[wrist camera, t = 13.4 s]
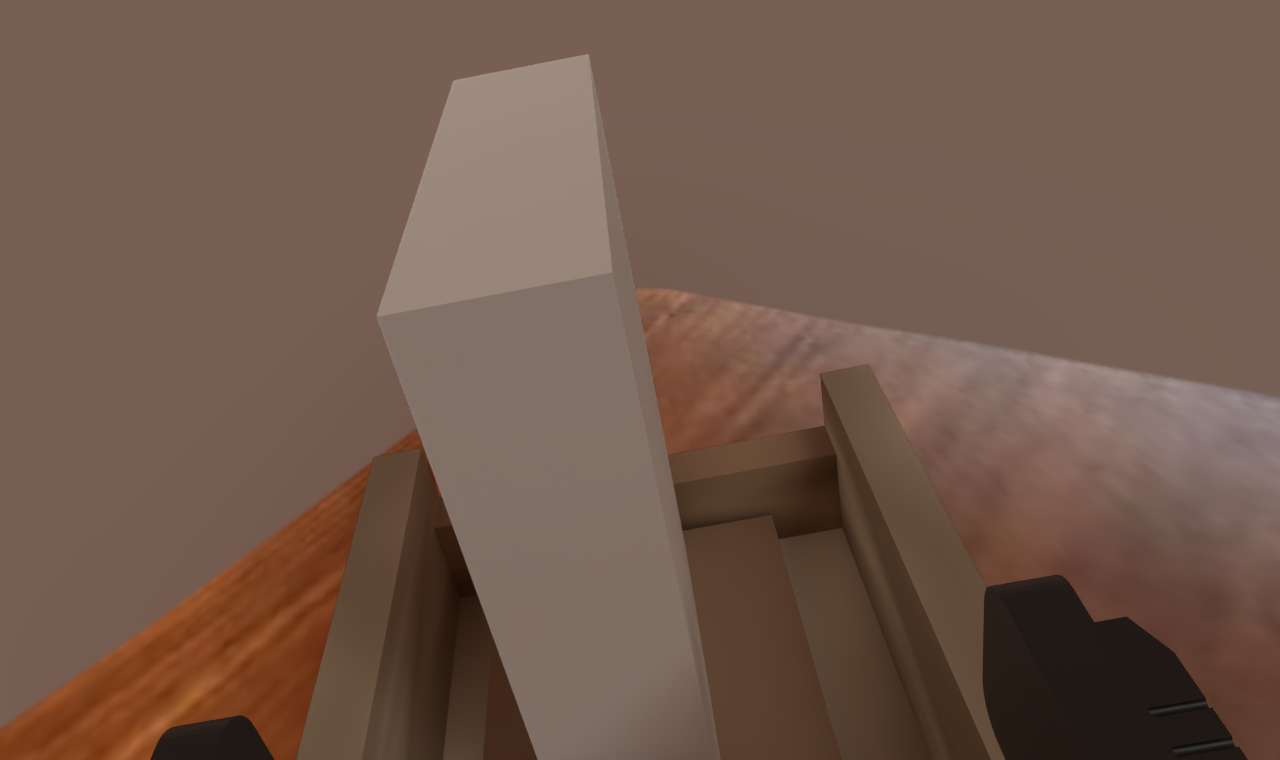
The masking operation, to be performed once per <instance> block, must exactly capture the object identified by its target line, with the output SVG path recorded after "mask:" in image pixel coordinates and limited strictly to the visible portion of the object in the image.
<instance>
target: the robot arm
mask: <svg viewBox="0 0 1280 760" xmlns="http://www.w3.org/2000/svg"><path fill="white" fill-rule="evenodd" d="M982 680H983V692H984V698H985V703H986V708H987V712H988V715H989V719H990V722H991V726H992V729H993V732H994V734H995V737H996V739H997V742H998V744H999V746H1000V749H1001V751H1002V753H1003V755H1004V758H1005V760H1248V759H1247V758H1246V756H1245V755H1244V753H1243V752H1242V750H1241V749H1240V747H1235V745H1234V743H1233V741H1232V736H1231V734H1230V733H1229V732H1228V730H1227V729H1226V727H1225V726H1224V724H1223V723H1222V721H1221V720H1220V718H1219V717H1218V716H1217V714H1216V713H1215V711H1214V710H1213V708H1209V707H1208V706H1207V703H1206V698H1205V697H1204V695H1203V694H1202V692H1201V691H1200V689H1199V688H1198V686H1197V685H1196V684H1195V682H1194V681H1193V679H1192V678H1191V676H1190V675H1189V673H1188V672H1187V670H1186V669H1185V668H1184V666H1183V665H1182V663H1181V662H1180V660H1179V659H1178V657H1177V656H1176V654H1175V653H1174V652H1173V651H1171V650H1170V649H1169V648H1168V647H1166V646H1165V645H1164V644H1162V643H1161V642H1160V641H1158V640H1157V639H1156V638H1154V637H1153V636H1152V635H1150V634H1149V633H1148V632H1146V631H1145V630H1144V629H1142V628H1141V627H1140V626H1138V625H1137V624H1136V623H1134V622H1133V621H1132V620H1130V619H1129V618H1128V617H1122V618H1117V619H1111V620H1105V621H1099V622H1094V621H1093V620H1092V618H1091V617H1090V615H1089V613H1088V612H1087V610H1086V608H1085V607H1084V605H1083V604H1082V602H1081V600H1080V599H1079V597H1078V596H1077V594H1076V592H1075V591H1074V589H1073V588H1072V586H1071V585H1070V583H1069V582H1068V581H1067V580H1066V579H1065V578H1064V577H1063V576H1061V575H1052V576H1046V577H1041V578H1035V579H1029V580H1024V581H1018V582H1012V583H1006V584H1001V585H995V586H989V587H988V588H987V589H986V591H985V595H984V625H983V675H982ZM151 760H274V759H273V757H272V755H271V754H270V752H269V750H268V749H267V747H266V745H265V744H264V742H263V740H262V739H261V737H260V735H259V734H258V732H257V730H256V729H255V727H254V725H253V724H252V723H251V721H250V720H249V719H247V718H246V717H244V716H233V717H228V718H222V719H216V720H210V721H205V722H199V723H193V724H188V725H182V726H176V727H172V728H170V729H169V730H167V731H166V732H165V733H164V734H163V735H162V737H161V738H160V740H159V741H158V743H157V745H156V748H155V750H154V752H153V755H152V757H151Z"/></svg>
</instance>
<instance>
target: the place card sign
mask: <svg viewBox="0 0 1280 760" xmlns="http://www.w3.org/2000/svg"><path fill="white" fill-rule="evenodd" d="M376 317H377V320H378V323H379V326H380V329H381V331H382V334H383V337H384V339H385V342H386V345H387V348H388V350H389V353H390V356H391V359H392V361H393V364H394V367H395V370H396V372H397V375H398V378H399V381H400V383H401V386H402V389H403V392H404V394H405V397H406V400H407V403H408V405H409V408H410V411H411V413H412V416H413V419H414V422H415V425H416V427H417V430H418V433H419V436H420V438H421V441H422V444H423V446H424V449H425V452H426V455H427V457H428V460H429V463H430V466H431V468H432V471H433V474H434V477H435V479H436V482H437V485H438V488H439V490H440V493H441V496H442V499H443V501H444V504H445V507H446V510H447V512H448V515H449V518H450V521H451V523H452V526H453V529H454V532H455V534H456V537H457V540H458V543H459V545H460V548H461V551H462V554H463V556H464V559H465V562H466V564H467V567H468V570H469V573H470V575H471V578H472V581H473V584H474V586H475V589H476V592H477V595H478V597H479V600H480V603H481V606H482V608H483V611H484V614H485V617H486V619H487V622H488V625H489V628H490V630H491V633H492V645H491V659H490V672H489V686H488V699H487V713H486V726H485V740H484V754H483V760H842V759H841V755H840V752H839V748H838V745H837V741H836V738H835V734H834V731H833V727H832V724H831V720H830V717H829V713H828V710H827V706H826V703H825V699H824V696H823V692H822V689H821V685H820V682H819V678H818V675H817V671H816V668H815V664H814V661H813V657H812V654H811V650H810V647H809V644H808V640H807V637H806V633H805V630H804V626H803V623H802V619H801V616H800V612H799V609H798V605H797V602H796V598H795V595H794V591H793V588H792V584H791V581H790V577H789V574H788V570H787V567H786V563H785V560H784V556H783V553H782V549H781V546H780V542H779V539H778V535H777V532H776V528H775V525H774V521H773V518H772V515H768V516H762V517H756V518H751V519H745V520H740V521H734V522H729V523H723V524H718V525H712V526H707V527H701V528H695V529H690V530H684V531H683V530H682V525H681V520H680V515H679V510H678V505H677V500H676V495H675V490H674V485H673V480H672V475H671V469H670V464H669V459H668V454H667V449H666V444H665V439H664V434H663V429H662V424H661V419H660V414H659V409H658V404H657V398H656V393H655V388H654V383H653V378H652V373H651V368H650V363H649V358H648V353H647V348H646V343H645V338H644V332H643V327H642V322H641V317H640V312H639V307H638V302H637V297H636V292H635V287H634V282H633V277H632V272H631V267H630V261H629V257H628V251H627V246H626V241H625V236H624V231H623V226H622V221H621V216H620V211H619V206H618V201H617V195H616V191H615V185H614V180H613V175H612V170H611V165H610V161H609V155H608V150H607V145H606V140H605V135H604V130H603V125H602V120H601V115H600V109H599V104H598V100H597V94H596V89H595V84H594V79H593V74H592V69H591V64H590V59H589V54H586V55H582V56H576V57H571V58H566V59H561V60H556V61H551V62H546V63H541V64H536V65H530V66H525V67H520V68H515V69H510V70H505V71H500V72H494V73H490V74H484V75H479V76H474V77H469V78H464V79H459V80H454V81H453V84H452V87H451V90H450V93H449V96H448V99H447V102H446V105H445V108H444V111H443V114H442V117H441V120H440V123H439V126H438V129H437V132H436V136H435V139H434V142H433V145H432V148H431V151H430V154H429V157H428V160H427V163H426V166H425V169H424V172H423V175H422V178H421V182H420V185H419V188H418V191H417V194H416V197H415V200H414V203H413V206H412V209H411V212H410V215H409V218H408V221H407V225H406V228H405V230H404V234H403V237H402V240H401V243H400V246H399V249H398V252H397V255H396V258H395V261H394V264H393V267H392V271H391V273H390V276H389V279H388V283H387V286H386V289H385V292H384V295H383V298H382V301H381V304H380V307H379V310H378V313H377V316H376Z"/></svg>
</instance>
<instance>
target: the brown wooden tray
mask: <svg viewBox="0 0 1280 760" xmlns="http://www.w3.org/2000/svg"><path fill="white" fill-rule="evenodd" d="M820 378H821V390H822V401H823V413H824V424H825V426H821V427H816V428H810V429H805V430H800V431H794V432H789V433H784V434H778V435H773V436H767V437H762V438H757V439H751V440H746V441H740V442H735V443H730V444H724V445H719V446H714V447H708V448H703V449H697V450H692V451H687V452H681V453H676V454H671V455H668V459H669V464H670V469H671V475H672V480H673V485H674V490H675V495H676V500H677V505H678V510H679V515H680V520H681V525H682V530H683V531H684V530H690V529H695V528H701V527H707V526H712V525H718V524H723V523H729V522H734V521H740V520H745V519H751V518H756V517H762V516H768V515H772V518H773V521H774V525H775V528H776V532H777V535H778V539H779V542H780V546H781V549H782V553H783V556H784V560H785V563H786V567H787V570H788V574H789V577H790V581H791V584H792V588H793V591H794V595H795V598H796V602H797V605H798V609H799V612H800V616H801V619H802V623H803V626H804V630H805V633H806V637H807V640H808V644H809V647H810V650H811V654H812V657H813V661H814V664H815V668H816V671H817V675H818V678H819V682H820V685H821V689H822V692H823V696H824V699H825V703H826V706H827V710H828V713H829V717H830V720H831V724H832V727H833V731H834V734H835V738H836V741H837V745H838V748H839V752H840V755H841V759H842V760H1005V758H1004V755H1003V753H1002V751H1001V749H1000V746H999V744H998V742H997V739H996V737H995V734H994V732H993V729H992V726H991V722H990V719H989V715H988V712H987V708H986V703H985V698H984V692H983V680H982V675H983V625H984V595H985V591H986V589H987V587H986V585H985V583H984V581H983V579H982V577H981V575H980V574H979V572H978V570H977V568H976V566H975V564H974V562H973V560H972V558H971V557H970V555H969V553H968V551H967V549H966V547H965V545H964V543H963V541H962V540H961V538H960V536H959V534H958V532H957V530H956V528H955V526H954V524H953V523H952V521H951V519H950V517H949V515H948V513H947V511H946V509H945V508H944V506H943V504H942V502H941V500H940V498H939V496H938V494H937V492H936V491H935V489H934V487H933V485H932V483H931V481H930V479H929V477H928V475H927V474H926V472H925V470H924V468H923V466H922V464H921V462H920V460H919V458H918V457H917V455H916V453H915V451H914V449H913V447H912V445H911V443H910V441H909V440H908V438H907V436H906V434H905V432H904V430H903V428H902V426H901V424H900V423H899V421H898V419H897V417H896V415H895V413H894V411H893V409H892V408H891V406H890V404H889V402H888V400H887V398H886V396H885V394H884V392H883V391H882V389H881V387H880V385H879V383H878V381H877V379H876V377H875V375H874V374H873V372H872V370H871V368H870V366H869V364H868V365H862V366H857V367H852V368H846V369H841V370H835V371H830V372H825V373H820ZM491 645H492V633H491V630H490V628H489V625H488V622H487V619H486V617H485V614H484V611H483V608H482V606H481V603H480V600H479V597H478V595H477V592H476V589H475V586H474V584H473V581H472V578H471V575H470V573H469V570H468V567H467V564H466V562H465V559H464V556H463V554H462V551H461V548H460V545H459V543H458V540H457V537H456V534H455V532H454V529H453V526H452V523H451V521H450V518H449V515H448V512H447V510H446V507H445V504H444V501H443V499H442V497H439V496H438V493H437V490H436V488H435V485H434V482H433V479H432V477H431V474H430V471H429V469H428V466H427V463H426V460H425V458H424V455H423V452H422V449H421V448H419V449H414V450H408V451H403V452H398V453H392V454H387V455H382V456H376V457H374V458H373V462H372V466H371V469H370V473H369V477H368V481H367V485H366V489H365V493H364V497H363V501H362V505H361V508H360V512H359V516H358V520H357V524H356V528H355V532H354V536H353V540H352V544H351V547H350V551H349V555H348V559H347V563H346V567H345V571H344V575H343V579H342V583H341V586H340V590H339V594H338V598H337V602H336V606H335V610H334V614H333V618H332V622H331V625H330V629H329V633H328V637H327V641H326V645H325V649H324V653H323V657H322V661H321V664H320V668H319V672H318V676H317V680H316V684H315V688H314V692H313V696H312V700H311V703H310V707H309V711H308V715H307V719H306V723H305V727H304V731H303V735H302V739H301V742H300V746H299V750H298V754H297V758H296V760H483V754H484V740H485V726H486V713H487V699H488V686H489V672H490V659H491Z"/></svg>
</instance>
